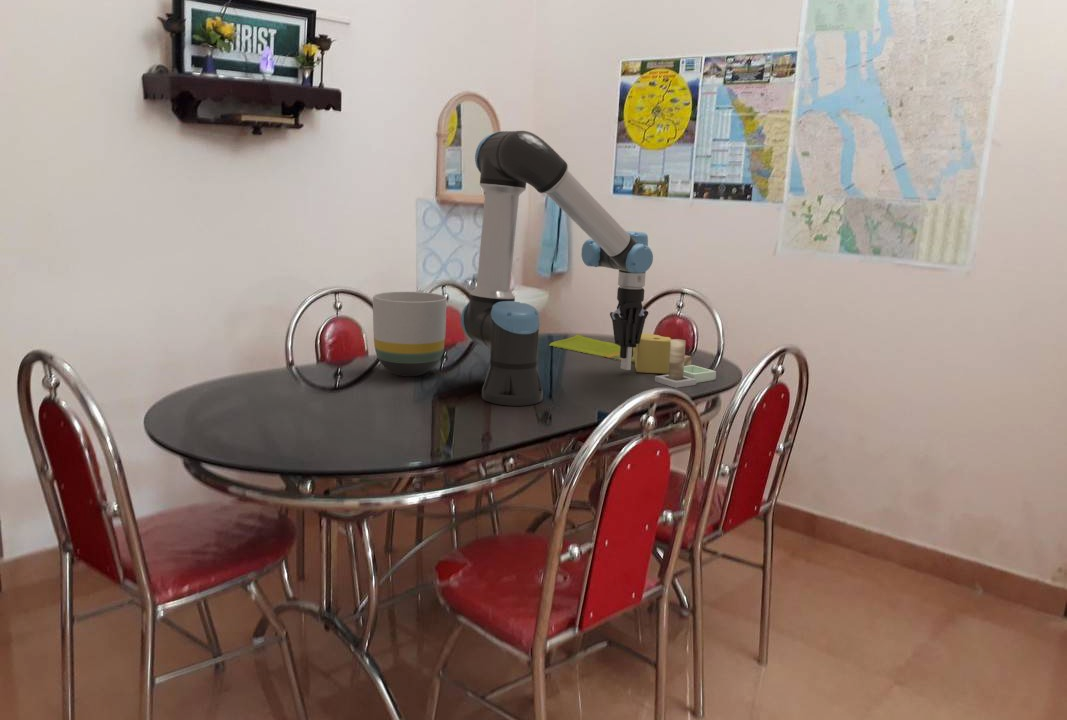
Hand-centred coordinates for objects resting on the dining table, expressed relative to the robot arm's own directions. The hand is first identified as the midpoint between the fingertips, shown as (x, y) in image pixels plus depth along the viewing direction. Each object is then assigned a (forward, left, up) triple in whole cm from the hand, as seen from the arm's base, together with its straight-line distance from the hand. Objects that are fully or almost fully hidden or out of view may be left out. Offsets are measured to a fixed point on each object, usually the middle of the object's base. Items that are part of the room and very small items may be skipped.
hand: (625, 368), depth 240 cm
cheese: (+11, 0, -2) cm, 11 cm away
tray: (+14, -13, -1) cm, 19 cm away
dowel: (+5, -15, -1) cm, 16 cm away
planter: (-56, +26, -2) cm, 62 cm away
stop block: (+20, 0, -1) cm, 20 cm away
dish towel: (+15, +26, -2) cm, 30 cm away
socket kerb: (+5, -15, -1) cm, 16 cm away
